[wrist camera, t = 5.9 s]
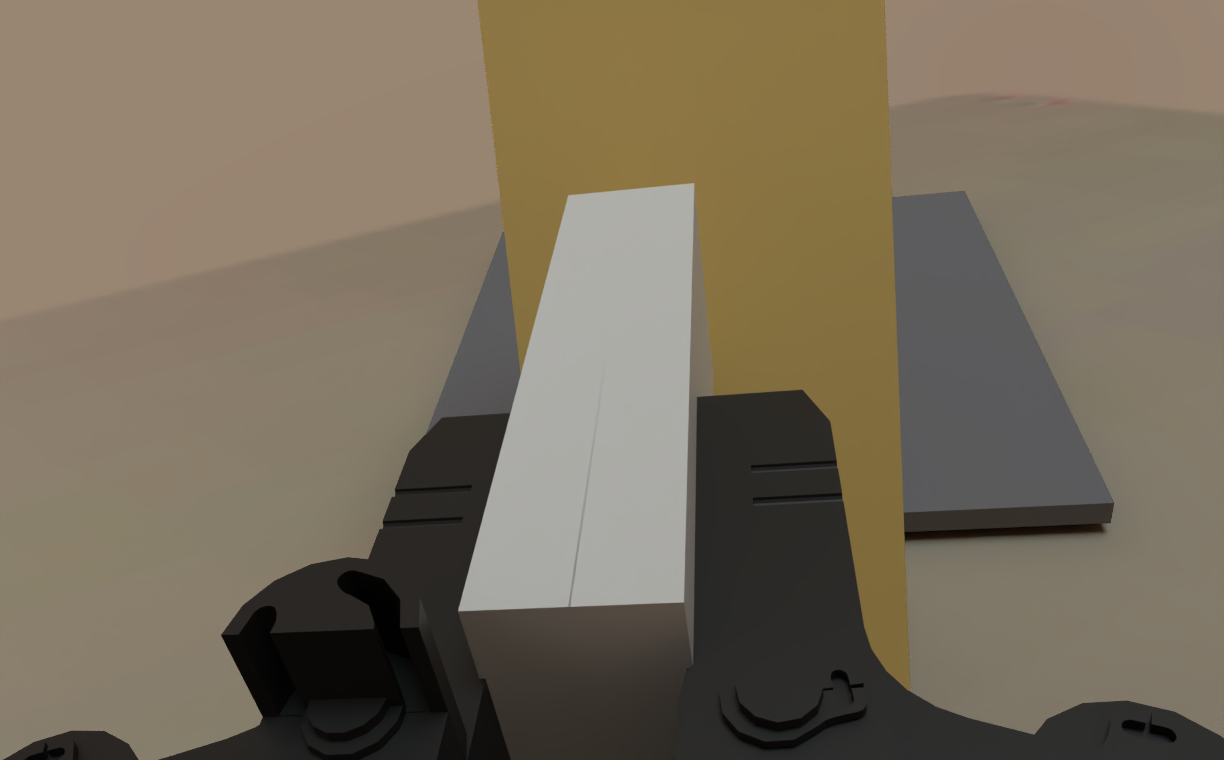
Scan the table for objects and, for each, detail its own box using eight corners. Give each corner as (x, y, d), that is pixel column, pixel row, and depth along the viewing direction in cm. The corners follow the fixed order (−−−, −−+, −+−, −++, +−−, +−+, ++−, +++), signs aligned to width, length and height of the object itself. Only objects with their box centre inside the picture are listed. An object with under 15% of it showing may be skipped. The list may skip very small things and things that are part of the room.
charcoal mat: (963, 206, 30) (964, 190, 30) (1110, 522, 19) (1114, 502, 19) (505, 246, 32) (502, 232, 32) (393, 554, 21) (387, 536, 21)
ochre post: (869, 564, 19) (832, -263, 16) (911, 704, 14) (868, -438, 11) (605, 574, 20) (525, -216, 17) (559, 710, 15) (435, -363, 12)
